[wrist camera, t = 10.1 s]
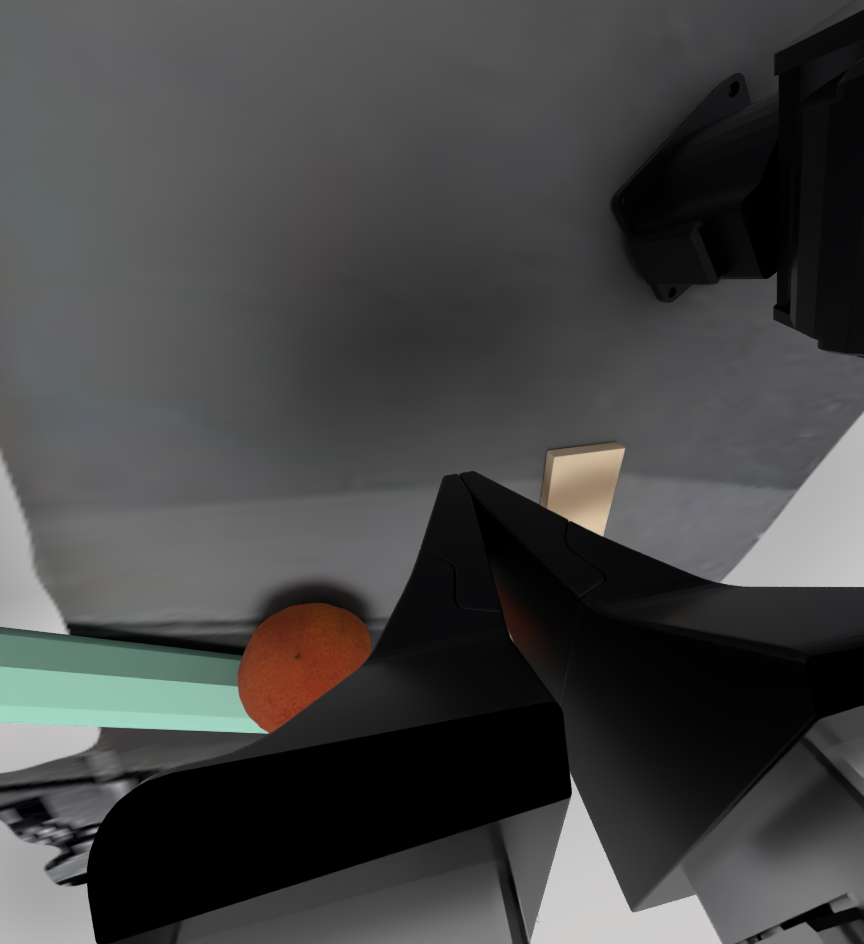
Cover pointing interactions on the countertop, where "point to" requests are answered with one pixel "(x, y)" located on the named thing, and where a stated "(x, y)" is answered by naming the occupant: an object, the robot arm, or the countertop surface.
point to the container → (117, 684)
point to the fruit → (299, 660)
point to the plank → (582, 483)
